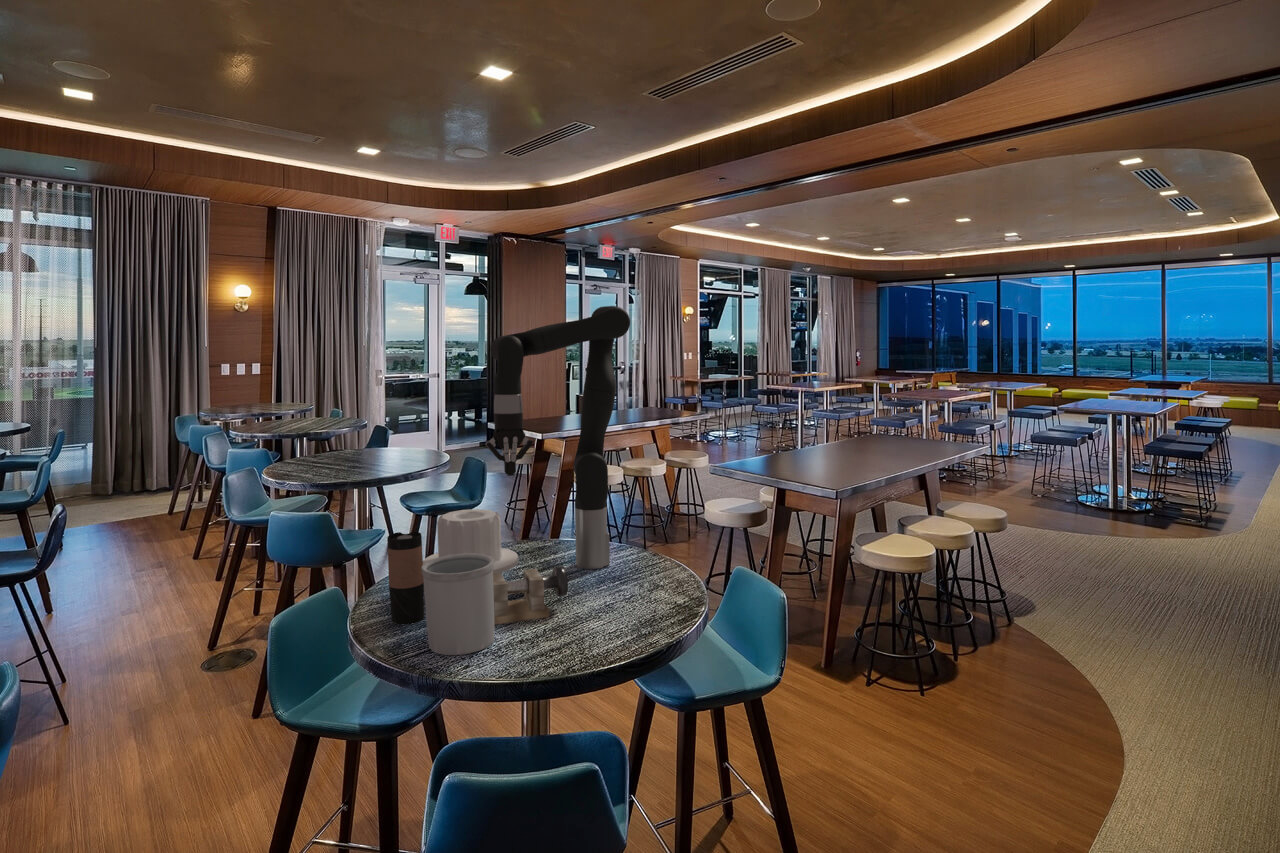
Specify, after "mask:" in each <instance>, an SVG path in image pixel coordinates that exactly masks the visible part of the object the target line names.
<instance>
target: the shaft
mask: <svg viewBox="0 0 1280 853" xmlns="http://www.w3.org/2000/svg"><path fill="white" fill-rule="evenodd" d="M542 578H543V579H544V591H546V590H552V589H553V591H554V594H555V595H556V597H559V598H560V597H563V596H564V597H565V596H567V594H568V590H569V581H568V574H567V569H566V567H565V566H563V565H562V566H554V567H553V569H552V575H550V576H542ZM506 582H507V593H508V595H515V594H521V593H523V594H524V592H529V579H524V578H523V579H518V580H517V579H516V580H510V581H508V580H507V581H506Z"/></svg>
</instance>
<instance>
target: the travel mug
mask: <svg viewBox="0 0 1280 853" xmlns="http://www.w3.org/2000/svg"><path fill="white" fill-rule="evenodd" d="M423 558H424V557H423V542H422V533H421V532H419V531H414V530H413V531H411V532H409V533H402V532H394V533H391V534H389V535H388V536H387V564H388V565H387V566H388V589H389V591H388V592H389V602H390V604H389V605H390V611H391V612H390V614H391V622H392V623H393V624H394V623H396V624H395V625H398V624H408V625H413V624H412V623H414V624H417V623H419V622H421V621H422V620H423V619H424V617H425V594H424V578H423V575H422V569H421V568H422V565H423V560H424V559H423Z"/></svg>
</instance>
